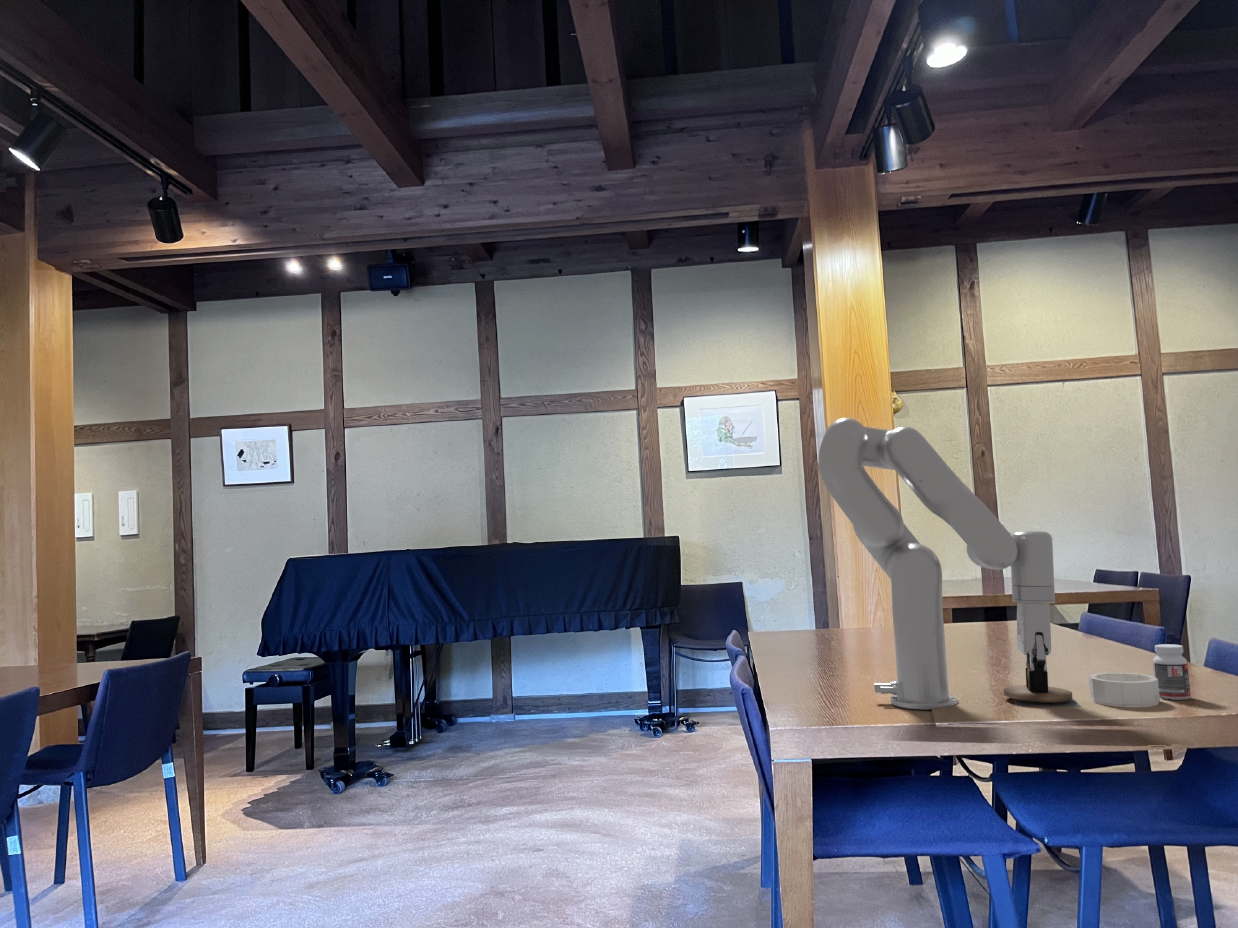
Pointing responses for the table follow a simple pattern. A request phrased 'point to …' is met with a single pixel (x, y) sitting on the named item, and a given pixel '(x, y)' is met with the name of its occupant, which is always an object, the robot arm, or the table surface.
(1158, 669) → the pill bottle
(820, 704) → the table surface
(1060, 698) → the lid
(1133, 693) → the bowl
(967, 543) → the robot arm
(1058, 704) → the mat
